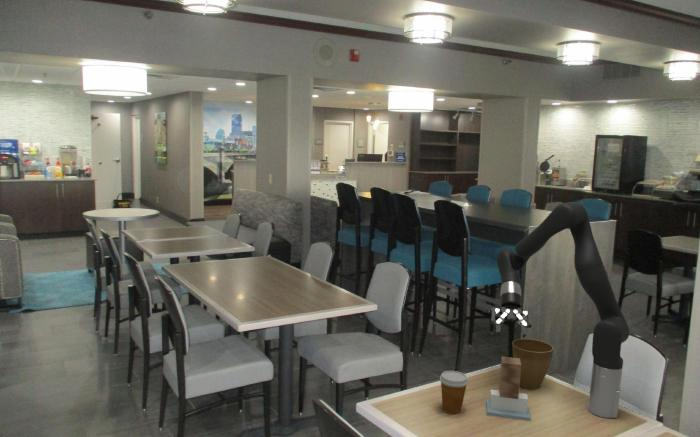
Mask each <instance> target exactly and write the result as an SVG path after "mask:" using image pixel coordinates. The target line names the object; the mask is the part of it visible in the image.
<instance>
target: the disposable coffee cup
mask: <svg viewBox="0 0 700 437" xmlns="http://www.w3.org/2000/svg"><path fill="white" fill-rule="evenodd" d="M439 381H440V385H441V386H440V387H441V404H442V405H441V406H442V411H444V412H446V413H449V414H459V413H461V412H462V408H463V403H464V400H465V394H466V388H467V385H468V384H469V379H468V376H467V375H466V374H465V373H463V372H461V371H457V370H456V371H455V370H445V371H442V373H441V374H440V376H439Z"/></svg>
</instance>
